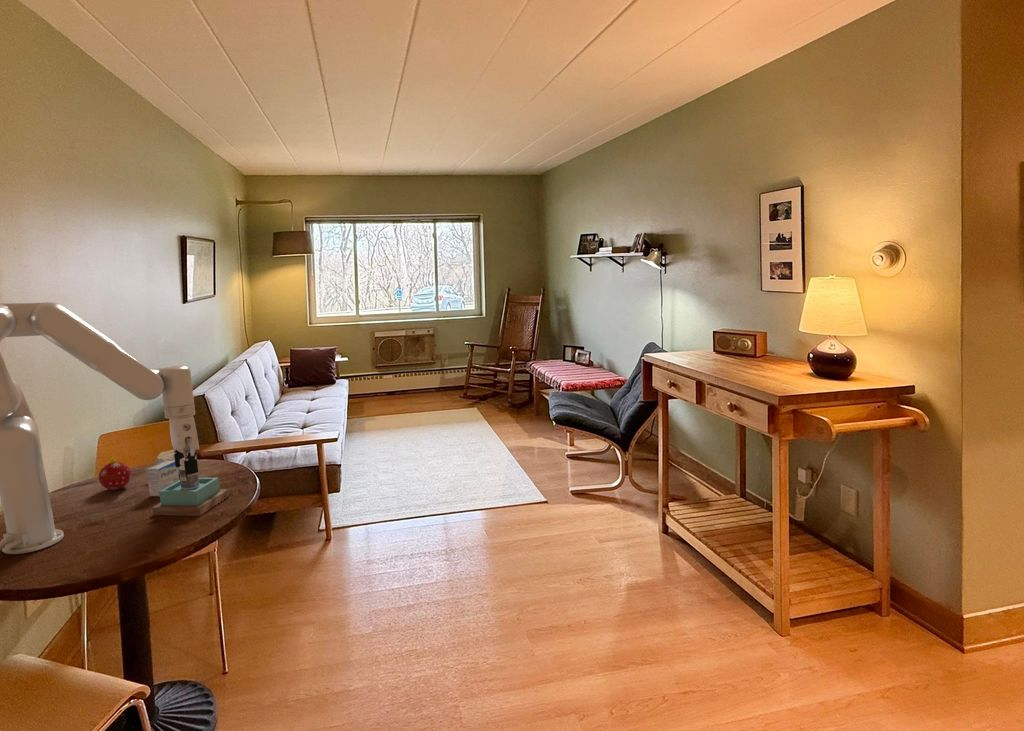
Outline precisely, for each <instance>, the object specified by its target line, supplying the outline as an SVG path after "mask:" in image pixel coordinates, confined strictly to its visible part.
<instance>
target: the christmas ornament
mask: <svg viewBox="0 0 1024 731" xmlns="http://www.w3.org/2000/svg"><path fill="white" fill-rule="evenodd" d="M131 478H132V470H131V469H130V467H129V466H128V465H127V464H126V463H124V462H120V461H117V460H116V459H115V457H111V458H110V462H109V463H106V464H105V465H104V466H102V467H101V469H100V470H99V473H98V480H99V483H100V485H101V486H102V487H103V488H105V489H106V490H110V491H117V490H121V489H123V488H124V487H126V486H127V485H128V484H129V483H130V481H131Z"/></svg>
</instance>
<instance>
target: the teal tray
mask: <svg viewBox="0 0 1024 731" xmlns="http://www.w3.org/2000/svg"><path fill="white" fill-rule="evenodd" d="M220 484H221V483H220V478H219V477H199V487H197V488H195V489H191V490H183V489H181V483H180V479H179V481H177V482H175V483H173V484H171V485H170V486H168V487H166V488H164V489H162V490H161V491H159V494H160V496H159V500H160V503H161V505H199V504H201V503H202V502H204V501H205V500H207V499H208V498H210V497H212V496H213V495H215V494H216V493H218V492H219V491H220V489H221V485H220Z"/></svg>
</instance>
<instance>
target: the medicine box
mask: <svg viewBox="0 0 1024 731" xmlns="http://www.w3.org/2000/svg"><path fill="white" fill-rule="evenodd" d="M145 472H146V477H147V485H148V490H149V491H148V492H149V496H150V497H160V494H159V491H161V490H162V489H164V488H166V487H168V486H170V485H171V484H173V483H175V482H177V481H179V480H180V475H179V474H178V467H176V466H175V461H164V462H162V463H160V464H157V465H153V466H151V467H148V468H146V469H145Z"/></svg>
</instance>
